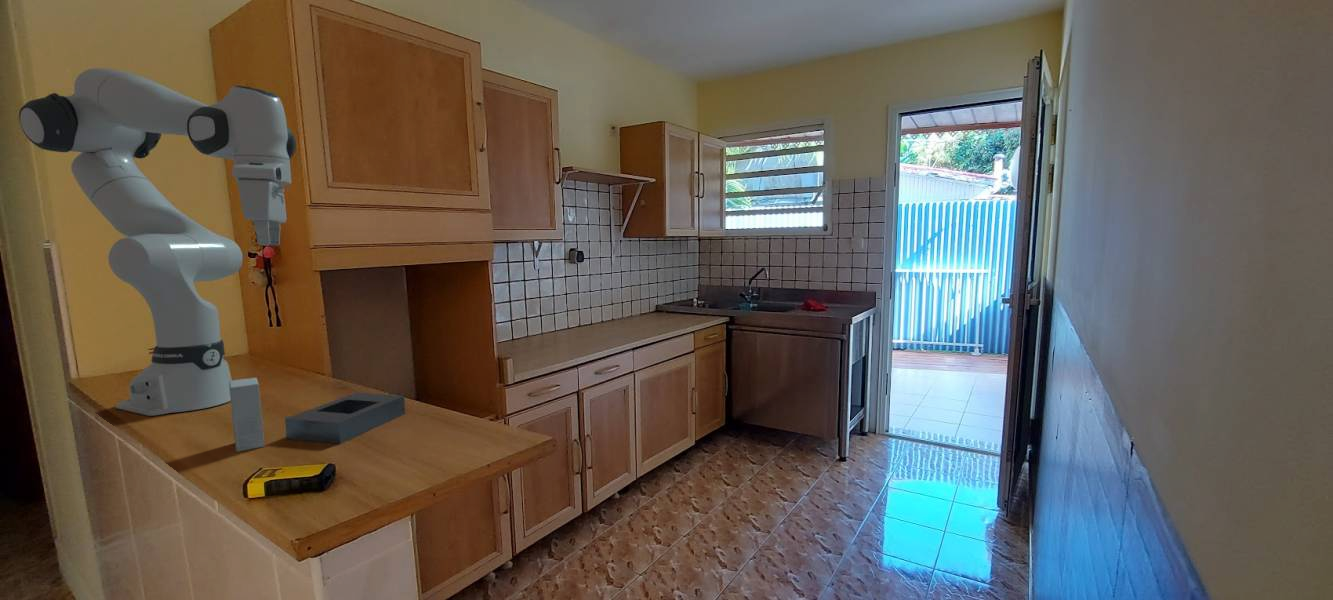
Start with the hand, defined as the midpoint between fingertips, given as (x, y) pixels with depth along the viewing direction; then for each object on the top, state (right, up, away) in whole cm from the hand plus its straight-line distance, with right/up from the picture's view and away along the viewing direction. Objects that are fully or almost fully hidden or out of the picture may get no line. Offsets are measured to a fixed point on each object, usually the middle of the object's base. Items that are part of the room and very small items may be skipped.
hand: (269, 245), depth 106 cm
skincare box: (+1, -38, -6) cm, 38 cm away
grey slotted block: (+13, -37, +4) cm, 39 cm away
